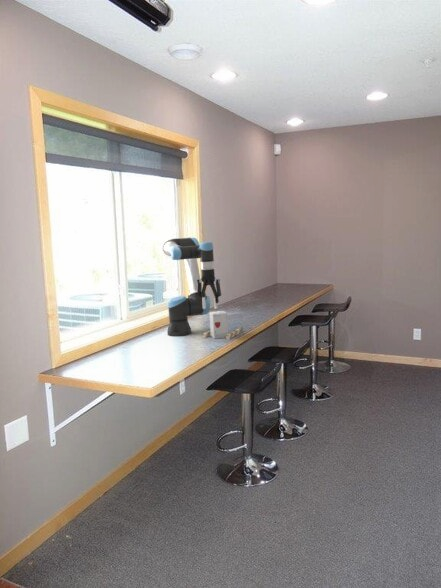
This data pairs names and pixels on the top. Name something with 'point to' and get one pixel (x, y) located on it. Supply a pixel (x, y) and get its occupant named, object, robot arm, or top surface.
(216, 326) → the supplement box
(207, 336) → the beige paired bars
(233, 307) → the top surface
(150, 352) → the top surface
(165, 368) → the top surface
